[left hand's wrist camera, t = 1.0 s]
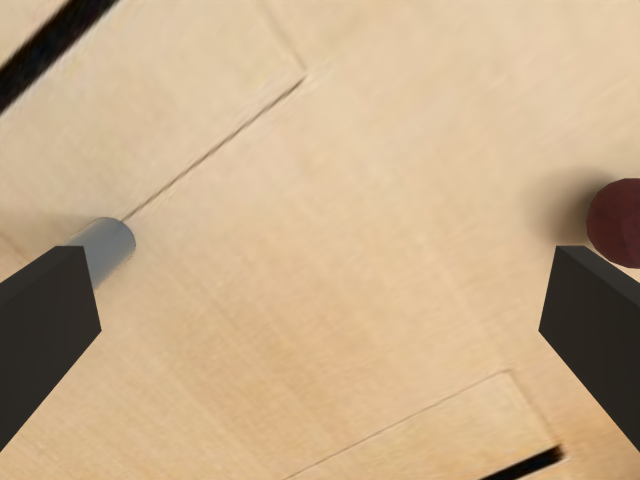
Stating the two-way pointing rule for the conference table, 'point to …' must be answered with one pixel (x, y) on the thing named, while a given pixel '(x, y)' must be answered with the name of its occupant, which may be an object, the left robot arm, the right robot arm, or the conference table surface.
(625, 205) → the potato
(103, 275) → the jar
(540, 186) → the conference table surface
